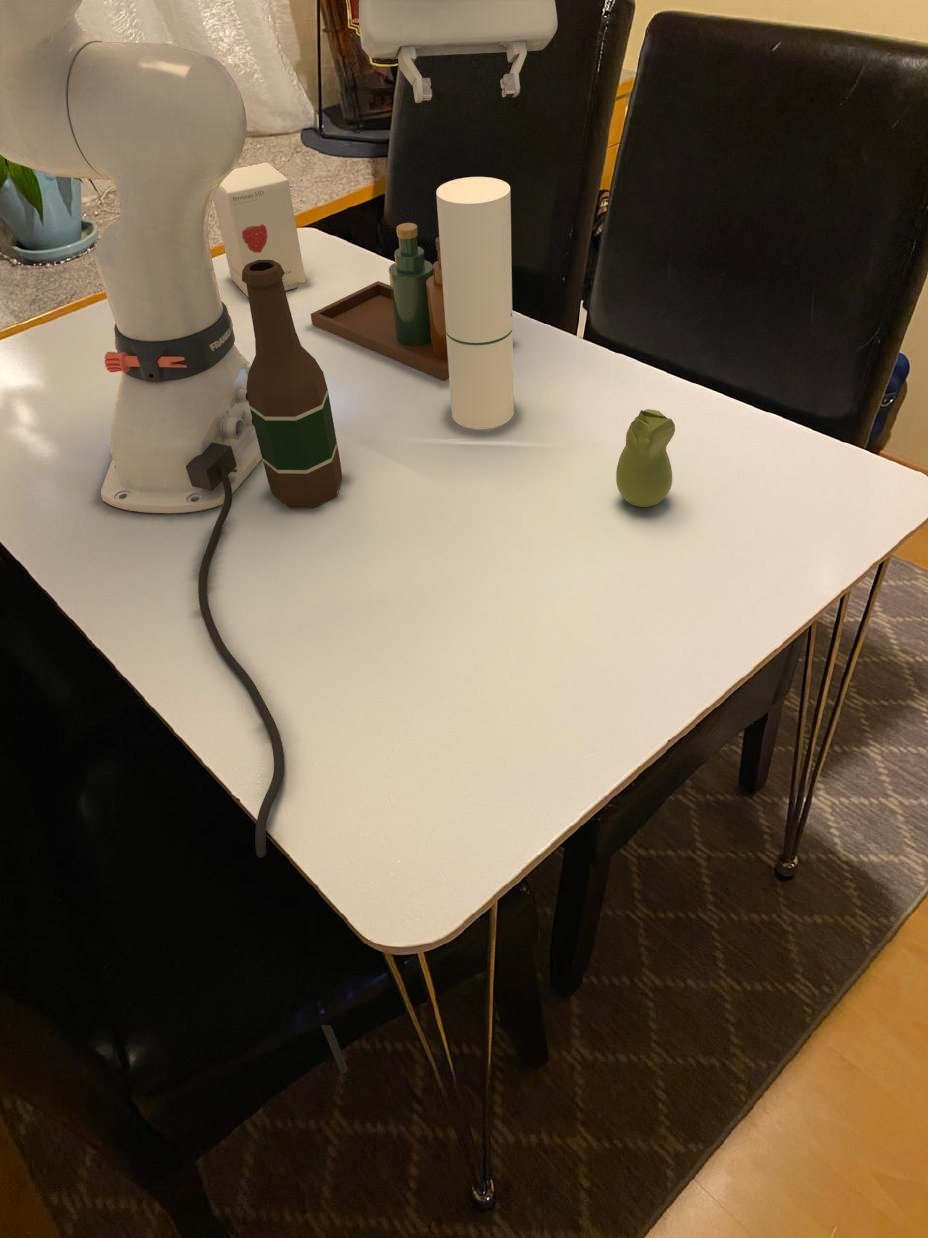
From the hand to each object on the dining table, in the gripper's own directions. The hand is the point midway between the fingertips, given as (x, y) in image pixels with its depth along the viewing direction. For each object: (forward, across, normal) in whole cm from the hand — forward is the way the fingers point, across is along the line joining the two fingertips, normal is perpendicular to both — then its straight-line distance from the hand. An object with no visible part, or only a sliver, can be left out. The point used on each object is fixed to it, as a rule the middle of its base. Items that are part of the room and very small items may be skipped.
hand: (468, 97), depth 92 cm
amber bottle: (+23, 0, +18) cm, 29 cm away
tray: (+20, -4, +24) cm, 32 cm away
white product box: (+8, -20, +46) cm, 50 cm away
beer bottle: (+37, -23, 0) cm, 43 cm away
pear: (+43, +9, -13) cm, 45 cm away
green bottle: (+20, -4, +23) cm, 31 cm away
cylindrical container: (+32, -1, +5) cm, 33 cm away
